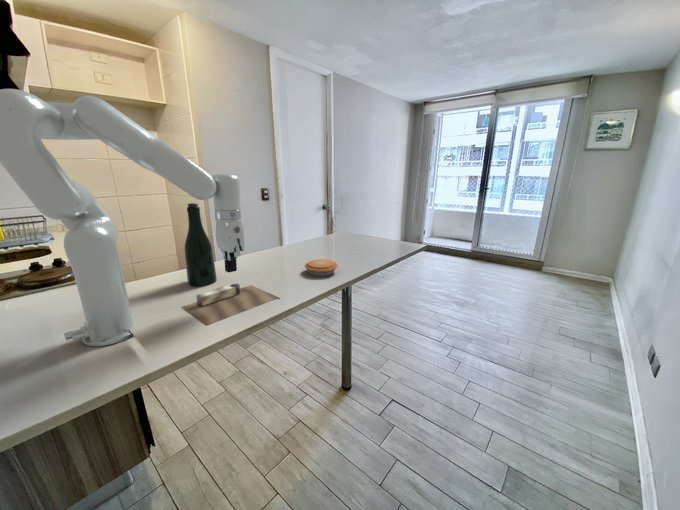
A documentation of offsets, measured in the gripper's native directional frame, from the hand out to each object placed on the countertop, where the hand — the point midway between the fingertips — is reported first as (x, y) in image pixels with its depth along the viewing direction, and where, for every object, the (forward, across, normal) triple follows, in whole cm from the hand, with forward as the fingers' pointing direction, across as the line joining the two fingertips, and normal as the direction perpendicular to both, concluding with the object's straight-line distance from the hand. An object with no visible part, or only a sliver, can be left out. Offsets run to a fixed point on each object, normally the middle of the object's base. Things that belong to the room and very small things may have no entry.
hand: (231, 271), depth 92 cm
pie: (+11, +3, -46) cm, 48 cm away
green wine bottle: (+13, +27, -2) cm, 30 cm away
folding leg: (+11, +6, +1) cm, 13 cm away
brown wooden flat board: (+13, +1, 0) cm, 13 cm away
